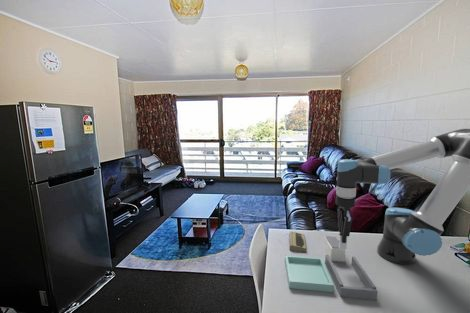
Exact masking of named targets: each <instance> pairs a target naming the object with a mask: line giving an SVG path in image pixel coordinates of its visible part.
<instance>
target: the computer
mask: <svg viewBox="0 0 470 313" xmlns="http://www.w3.org/2000/svg"><path fill="white" fill-rule="evenodd" d="M305 237H306V236H305V234H304V233H301V232H296V231H289V238H288V240H289V241H288V242H289V243H288V244H289V251H294V250H295V252H303V253H306V252H307V245H306V239H305Z"/></svg>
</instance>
